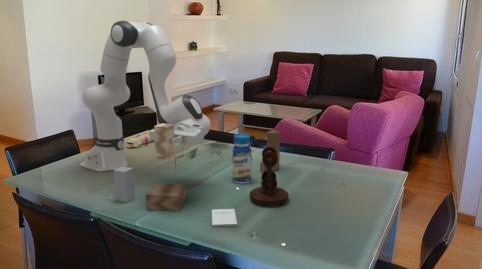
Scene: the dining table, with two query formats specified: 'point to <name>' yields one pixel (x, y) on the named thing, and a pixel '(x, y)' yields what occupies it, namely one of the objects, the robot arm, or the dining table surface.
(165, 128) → the maple block
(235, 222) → the external hard drive
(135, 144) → the cat figure
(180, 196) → the walnut base block
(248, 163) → the beverage bottle
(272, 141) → the wooden block
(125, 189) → the grey block
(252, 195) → the dark brown tall piece
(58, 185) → the dining table surface
